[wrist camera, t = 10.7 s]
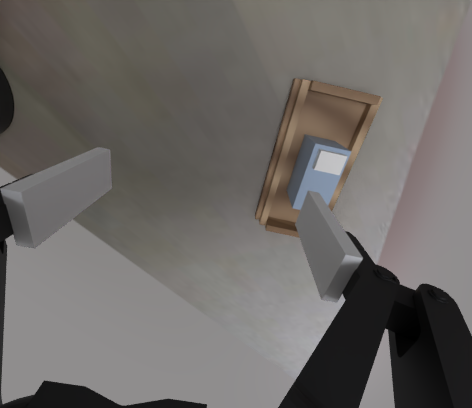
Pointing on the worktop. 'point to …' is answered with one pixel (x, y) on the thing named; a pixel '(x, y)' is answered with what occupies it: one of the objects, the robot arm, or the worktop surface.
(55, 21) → the worktop surface
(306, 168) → the blue block with label
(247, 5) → the worktop surface
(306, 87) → the wooden tray
